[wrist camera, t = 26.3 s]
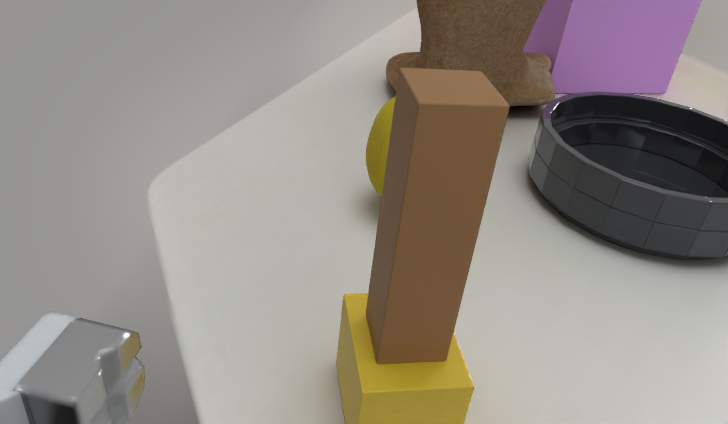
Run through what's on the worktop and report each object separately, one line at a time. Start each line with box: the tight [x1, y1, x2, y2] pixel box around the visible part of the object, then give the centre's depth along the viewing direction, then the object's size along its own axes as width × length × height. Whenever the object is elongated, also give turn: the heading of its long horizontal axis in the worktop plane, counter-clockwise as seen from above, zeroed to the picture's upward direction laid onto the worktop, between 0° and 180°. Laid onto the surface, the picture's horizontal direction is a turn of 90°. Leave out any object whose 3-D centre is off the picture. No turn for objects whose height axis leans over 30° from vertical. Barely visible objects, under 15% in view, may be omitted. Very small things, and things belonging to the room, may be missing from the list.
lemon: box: [366, 96, 396, 197], centre depth 36 cm, size 6×6×8 cm
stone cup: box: [386, 0, 555, 106], centre depth 50 cm, size 15×12×15 cm
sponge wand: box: [336, 68, 510, 424], centre depth 21 cm, size 5×4×14 cm
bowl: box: [529, 92, 728, 260], centre depth 41 cm, size 15×15×4 cm
